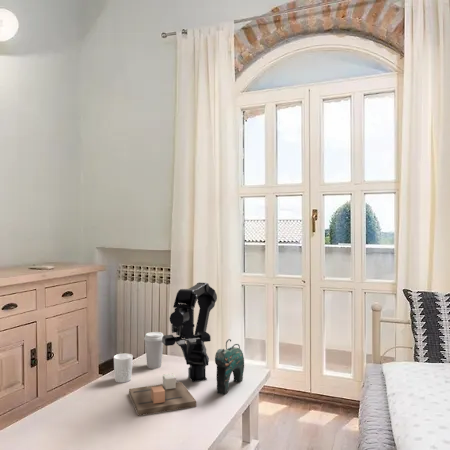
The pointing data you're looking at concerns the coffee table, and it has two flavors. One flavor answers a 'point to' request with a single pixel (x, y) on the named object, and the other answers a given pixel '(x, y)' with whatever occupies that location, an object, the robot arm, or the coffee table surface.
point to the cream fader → (169, 381)
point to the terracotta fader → (157, 394)
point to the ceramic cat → (228, 367)
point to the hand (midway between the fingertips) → (186, 359)
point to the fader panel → (173, 401)
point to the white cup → (123, 367)
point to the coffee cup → (154, 349)
